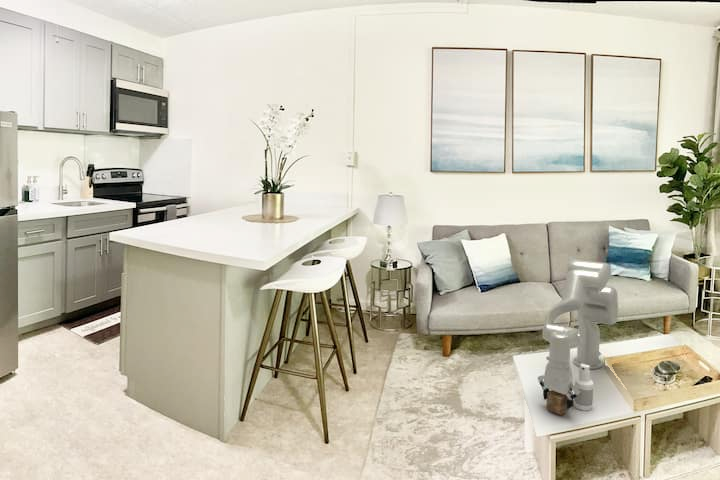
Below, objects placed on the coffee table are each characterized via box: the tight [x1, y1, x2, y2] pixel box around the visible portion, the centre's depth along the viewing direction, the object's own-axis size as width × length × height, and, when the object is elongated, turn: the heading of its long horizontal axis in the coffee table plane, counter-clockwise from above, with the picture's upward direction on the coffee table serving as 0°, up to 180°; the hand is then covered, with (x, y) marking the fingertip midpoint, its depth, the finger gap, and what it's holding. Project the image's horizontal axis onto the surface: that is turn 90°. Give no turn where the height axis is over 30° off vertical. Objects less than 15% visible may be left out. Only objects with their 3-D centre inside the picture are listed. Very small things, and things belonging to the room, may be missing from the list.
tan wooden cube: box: [546, 390, 570, 416], centre depth 189 cm, size 6×6×7 cm
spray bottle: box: [573, 364, 594, 412], centre depth 191 cm, size 7×7×18 cm
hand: (557, 402), depth 189 cm, fingers open, 9 cm apart
